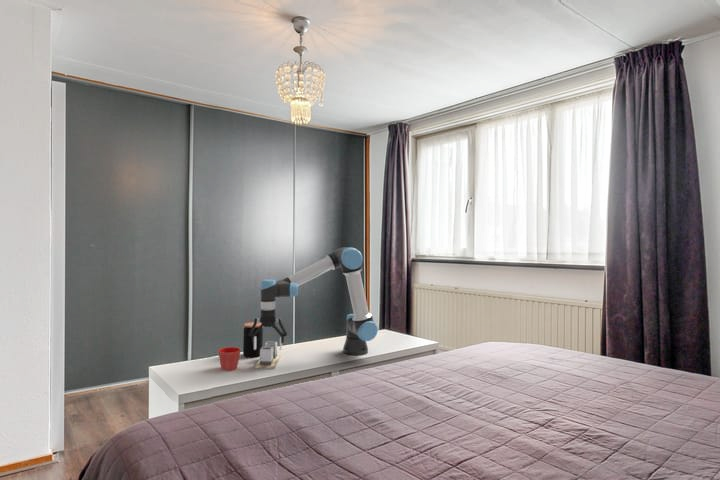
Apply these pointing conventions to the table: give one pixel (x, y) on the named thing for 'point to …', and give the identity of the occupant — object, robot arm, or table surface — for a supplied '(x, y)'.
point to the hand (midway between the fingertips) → (267, 349)
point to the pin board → (273, 365)
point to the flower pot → (229, 358)
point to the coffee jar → (247, 342)
